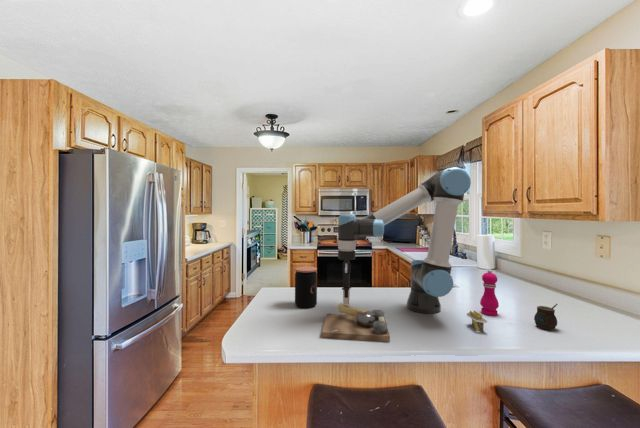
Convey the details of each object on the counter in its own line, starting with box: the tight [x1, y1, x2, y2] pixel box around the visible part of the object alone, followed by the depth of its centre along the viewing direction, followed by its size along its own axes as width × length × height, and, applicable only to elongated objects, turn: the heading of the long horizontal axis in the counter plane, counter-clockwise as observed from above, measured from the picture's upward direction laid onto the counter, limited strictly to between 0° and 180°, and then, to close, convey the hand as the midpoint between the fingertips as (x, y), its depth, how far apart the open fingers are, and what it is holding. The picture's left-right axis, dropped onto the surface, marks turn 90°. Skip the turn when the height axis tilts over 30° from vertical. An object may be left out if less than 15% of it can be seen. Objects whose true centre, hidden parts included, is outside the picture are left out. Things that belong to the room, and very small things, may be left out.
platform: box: [466, 310, 488, 333], centre depth 113 cm, size 12×18×7 cm, turn 0°
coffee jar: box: [294, 265, 318, 310], centre depth 139 cm, size 11×11×18 cm
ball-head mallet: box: [337, 303, 375, 327], centre depth 114 cm, size 16×7×5 cm, turn 48°
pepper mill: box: [480, 268, 499, 317], centre depth 129 cm, size 7×7×20 cm
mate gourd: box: [533, 303, 558, 331], centre depth 114 cm, size 7×8×10 cm
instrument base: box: [321, 309, 391, 343], centre depth 111 cm, size 24×19×5 cm
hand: (346, 304), depth 124 cm, fingers closed
